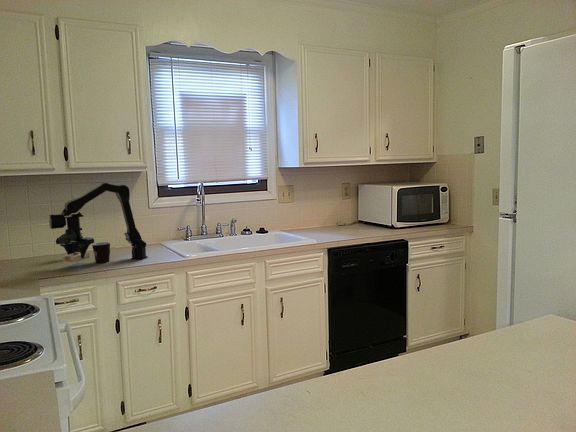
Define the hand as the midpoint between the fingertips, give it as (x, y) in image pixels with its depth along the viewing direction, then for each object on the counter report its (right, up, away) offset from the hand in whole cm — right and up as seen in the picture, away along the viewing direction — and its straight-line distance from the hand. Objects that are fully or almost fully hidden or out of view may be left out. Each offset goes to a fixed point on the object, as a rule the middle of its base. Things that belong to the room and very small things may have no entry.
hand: (76, 258), depth 233 cm
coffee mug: (+9, -4, +9) cm, 14 cm away
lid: (0, -1, 0) cm, 1 cm away
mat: (0, -5, +1) cm, 5 cm away
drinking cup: (-11, -3, +24) cm, 27 cm away
